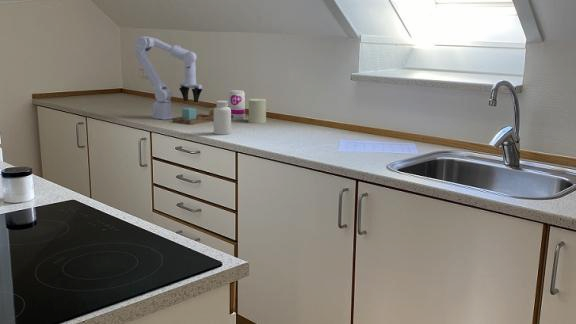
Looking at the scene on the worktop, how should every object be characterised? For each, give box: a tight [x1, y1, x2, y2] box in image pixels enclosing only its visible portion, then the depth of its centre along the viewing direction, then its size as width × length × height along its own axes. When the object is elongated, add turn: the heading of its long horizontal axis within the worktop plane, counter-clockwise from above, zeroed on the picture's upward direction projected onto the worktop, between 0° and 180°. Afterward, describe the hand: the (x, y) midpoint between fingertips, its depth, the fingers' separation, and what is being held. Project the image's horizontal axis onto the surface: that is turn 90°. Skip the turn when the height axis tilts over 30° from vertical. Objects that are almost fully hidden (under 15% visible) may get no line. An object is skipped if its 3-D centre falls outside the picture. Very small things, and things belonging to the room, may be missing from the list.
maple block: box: [208, 107, 215, 116], centre depth 328 cm, size 5×5×7 cm
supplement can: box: [228, 89, 246, 121], centre depth 323 cm, size 8×8×15 cm
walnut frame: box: [172, 113, 214, 126], centre depth 316 cm, size 13×20×2 cm, turn 143°
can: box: [248, 98, 267, 124], centre depth 315 cm, size 9×9×12 cm
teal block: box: [181, 107, 197, 120], centre depth 312 cm, size 5×5×7 cm
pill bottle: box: [213, 100, 232, 136], centre depth 280 cm, size 8×8×15 cm
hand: (190, 101), depth 319 cm, fingers open, 7 cm apart
